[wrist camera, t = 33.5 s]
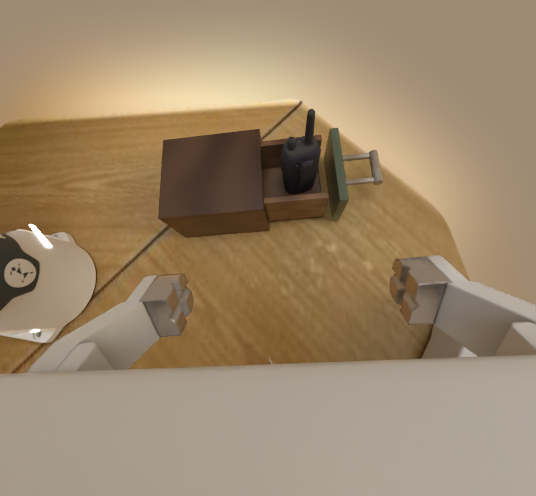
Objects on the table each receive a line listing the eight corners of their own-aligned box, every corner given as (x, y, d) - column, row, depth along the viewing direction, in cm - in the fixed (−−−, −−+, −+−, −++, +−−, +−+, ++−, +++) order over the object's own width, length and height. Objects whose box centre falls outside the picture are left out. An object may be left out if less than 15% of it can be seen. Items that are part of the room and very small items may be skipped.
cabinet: (266, 164, 45) (259, 128, 36) (269, 230, 41) (263, 209, 33) (188, 172, 46) (163, 140, 37) (185, 237, 43) (158, 218, 34)
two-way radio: (312, 171, 41) (322, 95, 27) (320, 194, 40) (336, 128, 25) (280, 180, 41) (273, 110, 27) (287, 204, 40) (284, 144, 26)
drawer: (364, 154, 42) (378, 123, 35) (374, 216, 39) (392, 195, 32) (253, 166, 44) (246, 138, 37) (256, 226, 41) (248, 209, 34)
